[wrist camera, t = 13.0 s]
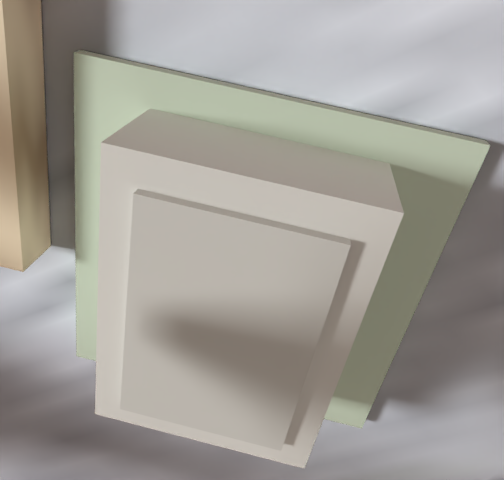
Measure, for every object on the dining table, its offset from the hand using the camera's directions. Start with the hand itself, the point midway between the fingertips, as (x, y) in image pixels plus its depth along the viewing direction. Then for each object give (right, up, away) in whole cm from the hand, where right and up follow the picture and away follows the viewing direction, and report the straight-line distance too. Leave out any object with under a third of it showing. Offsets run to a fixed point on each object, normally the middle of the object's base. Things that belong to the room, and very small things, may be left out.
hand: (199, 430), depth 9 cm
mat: (+1, +3, +5) cm, 6 cm away
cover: (+1, +3, +5) cm, 6 cm away
